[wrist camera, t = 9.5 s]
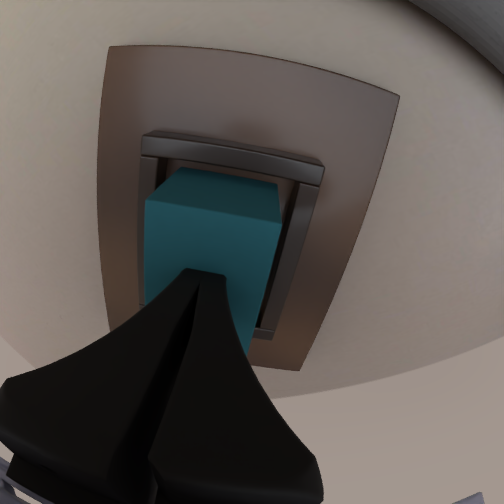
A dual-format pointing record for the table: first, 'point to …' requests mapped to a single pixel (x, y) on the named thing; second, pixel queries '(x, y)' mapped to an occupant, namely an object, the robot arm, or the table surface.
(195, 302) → the robot arm
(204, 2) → the table surface
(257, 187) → the teal block
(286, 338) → the brown board with frame
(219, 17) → the table surface
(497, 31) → the flashlight
